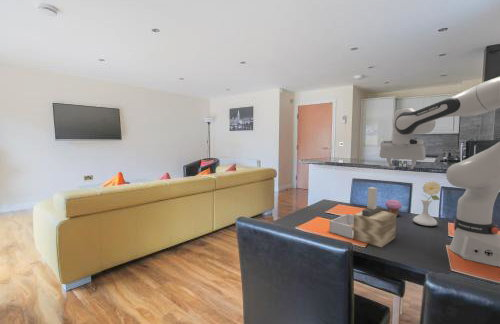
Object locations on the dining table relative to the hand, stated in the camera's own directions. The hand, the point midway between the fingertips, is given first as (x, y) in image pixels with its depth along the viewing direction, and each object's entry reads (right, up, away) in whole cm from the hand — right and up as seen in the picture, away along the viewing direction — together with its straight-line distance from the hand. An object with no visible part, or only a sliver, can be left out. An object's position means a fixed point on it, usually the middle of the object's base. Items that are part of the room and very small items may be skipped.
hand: (400, 168), depth 130 cm
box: (-25, -33, +3) cm, 41 cm away
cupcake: (+13, -31, +31) cm, 45 cm away
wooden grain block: (-17, -34, -7) cm, 38 cm away
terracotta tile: (-22, -31, +5) cm, 38 cm away
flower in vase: (+22, -32, +13) cm, 41 cm away
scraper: (-18, -22, -6) cm, 29 cm away
